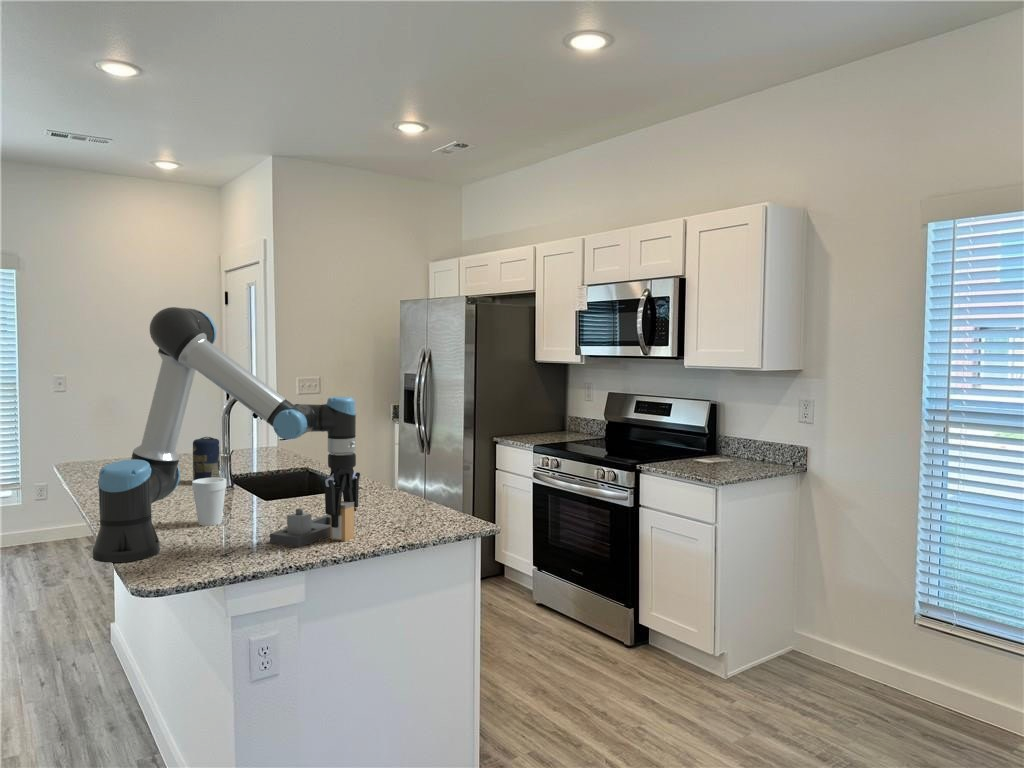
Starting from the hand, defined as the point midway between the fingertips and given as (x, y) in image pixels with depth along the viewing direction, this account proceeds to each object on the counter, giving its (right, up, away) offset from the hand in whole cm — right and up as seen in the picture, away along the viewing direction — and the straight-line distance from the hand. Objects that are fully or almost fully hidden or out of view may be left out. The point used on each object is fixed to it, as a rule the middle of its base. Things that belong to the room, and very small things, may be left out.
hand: (342, 536), depth 199 cm
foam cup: (-43, 0, +16) cm, 46 cm away
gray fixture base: (-9, 0, +4) cm, 10 cm away
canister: (-70, +4, +76) cm, 104 cm away
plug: (0, -1, 0) cm, 1 cm away
